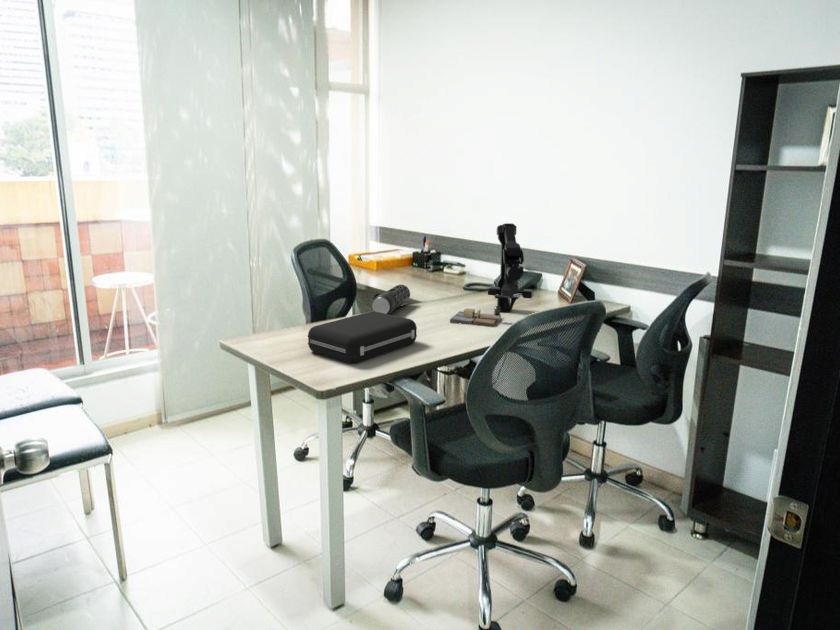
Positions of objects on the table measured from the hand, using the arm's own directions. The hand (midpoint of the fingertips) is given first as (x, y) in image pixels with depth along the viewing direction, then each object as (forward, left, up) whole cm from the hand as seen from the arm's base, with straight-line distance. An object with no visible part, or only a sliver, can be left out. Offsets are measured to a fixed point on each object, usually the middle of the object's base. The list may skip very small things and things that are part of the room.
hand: (509, 311), depth 267 cm
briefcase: (+52, -47, -6) cm, 71 cm away
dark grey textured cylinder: (-2, -55, -6) cm, 56 cm away
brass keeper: (0, -17, -4) cm, 17 cm away
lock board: (0, -15, -5) cm, 16 cm away
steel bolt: (0, -8, -3) cm, 9 cm away
